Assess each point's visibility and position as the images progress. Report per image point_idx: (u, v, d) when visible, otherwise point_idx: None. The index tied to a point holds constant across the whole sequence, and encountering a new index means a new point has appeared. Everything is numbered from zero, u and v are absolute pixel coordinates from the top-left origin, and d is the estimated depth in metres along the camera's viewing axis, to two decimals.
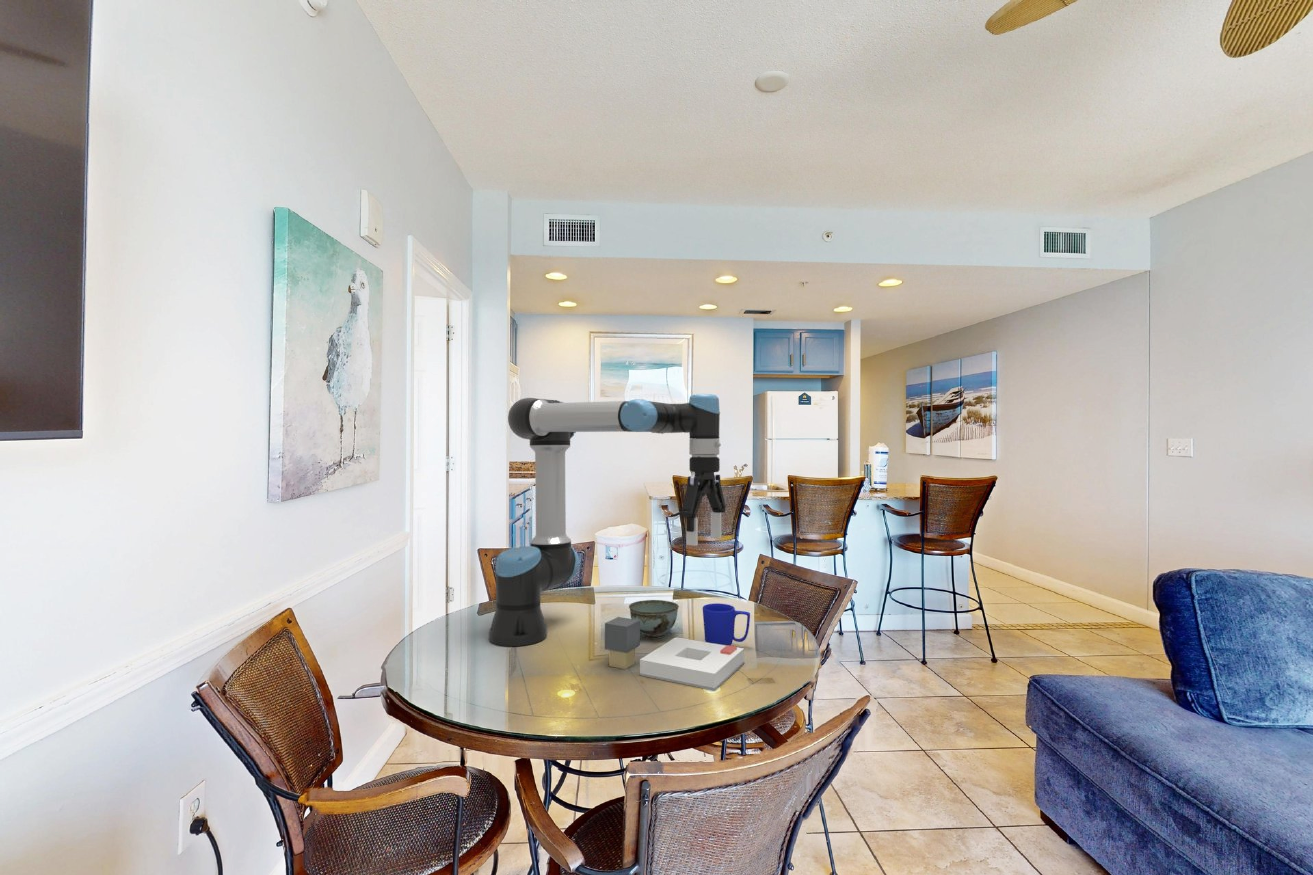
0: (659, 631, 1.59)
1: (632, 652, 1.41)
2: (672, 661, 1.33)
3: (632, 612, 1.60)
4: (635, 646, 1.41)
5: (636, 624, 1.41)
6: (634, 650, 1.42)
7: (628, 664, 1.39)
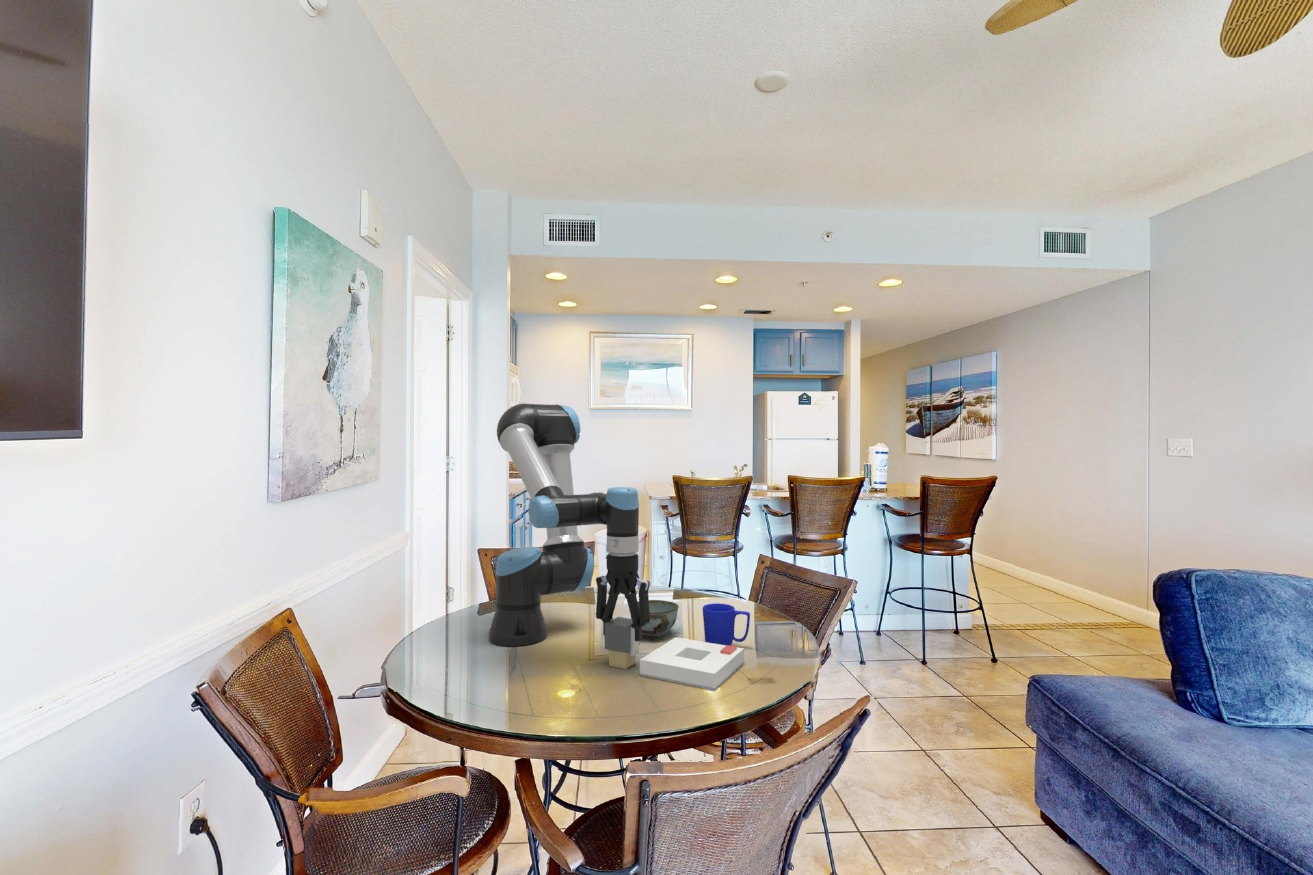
0: (659, 631, 1.59)
1: None
2: (672, 661, 1.33)
3: None
4: None
5: None
6: None
7: (628, 664, 1.39)
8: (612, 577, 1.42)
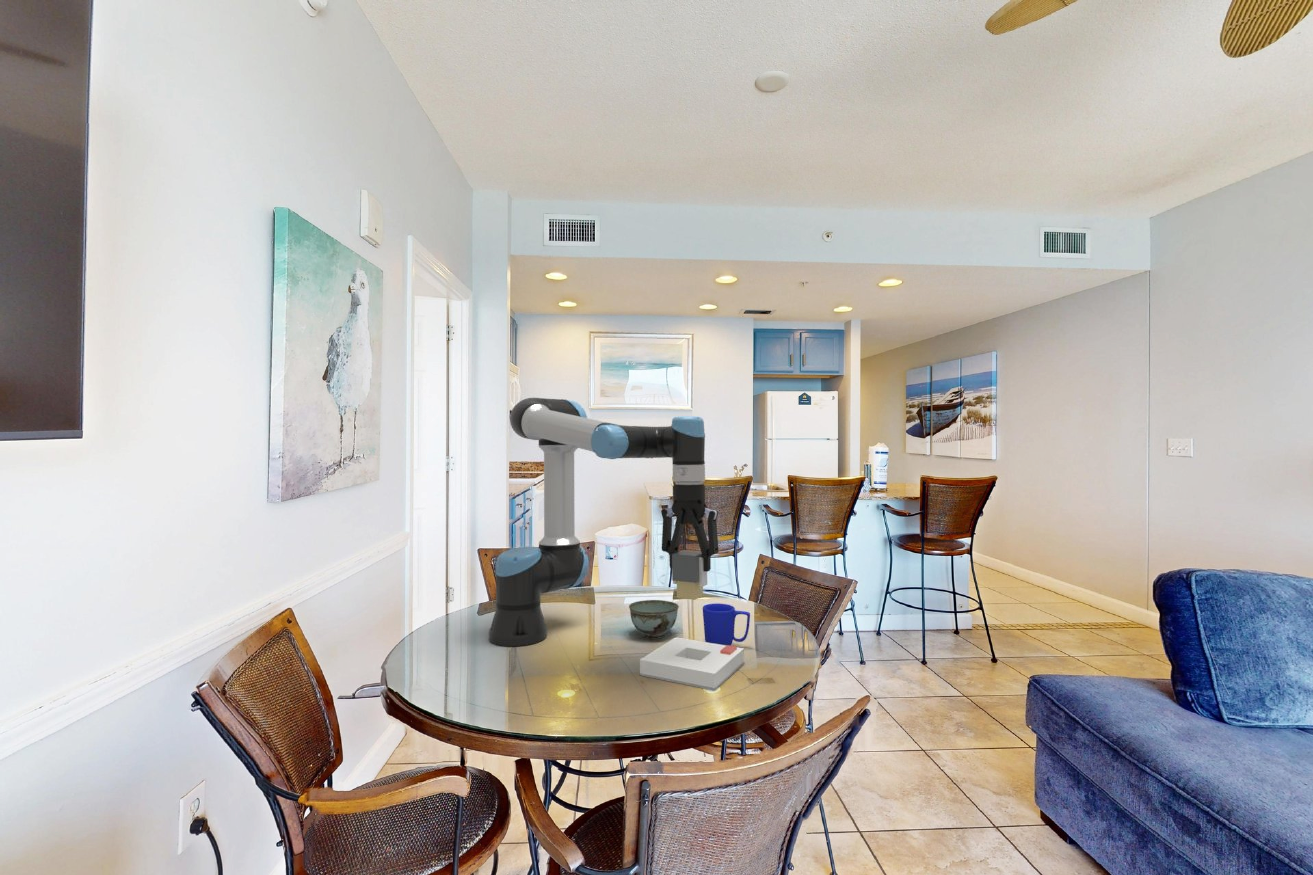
0: (659, 631, 1.59)
1: None
2: (672, 661, 1.33)
3: (632, 612, 1.60)
4: None
5: None
6: None
7: (697, 595, 1.36)
8: (678, 508, 1.39)
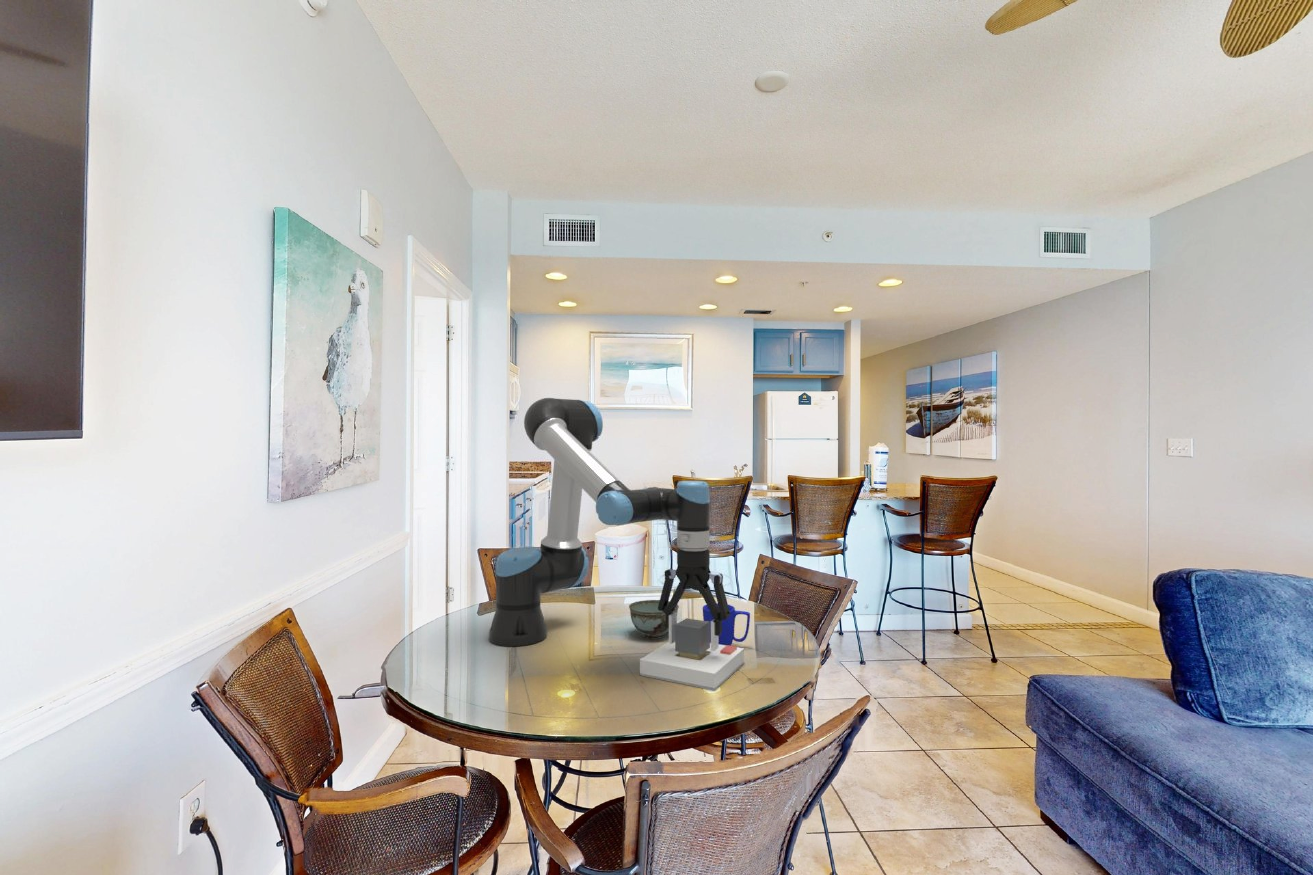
0: (659, 631, 1.59)
1: (703, 654, 1.38)
2: (672, 661, 1.33)
3: (632, 612, 1.60)
4: (706, 648, 1.38)
5: (707, 625, 1.38)
6: (704, 652, 1.39)
7: None
8: (683, 573, 1.39)
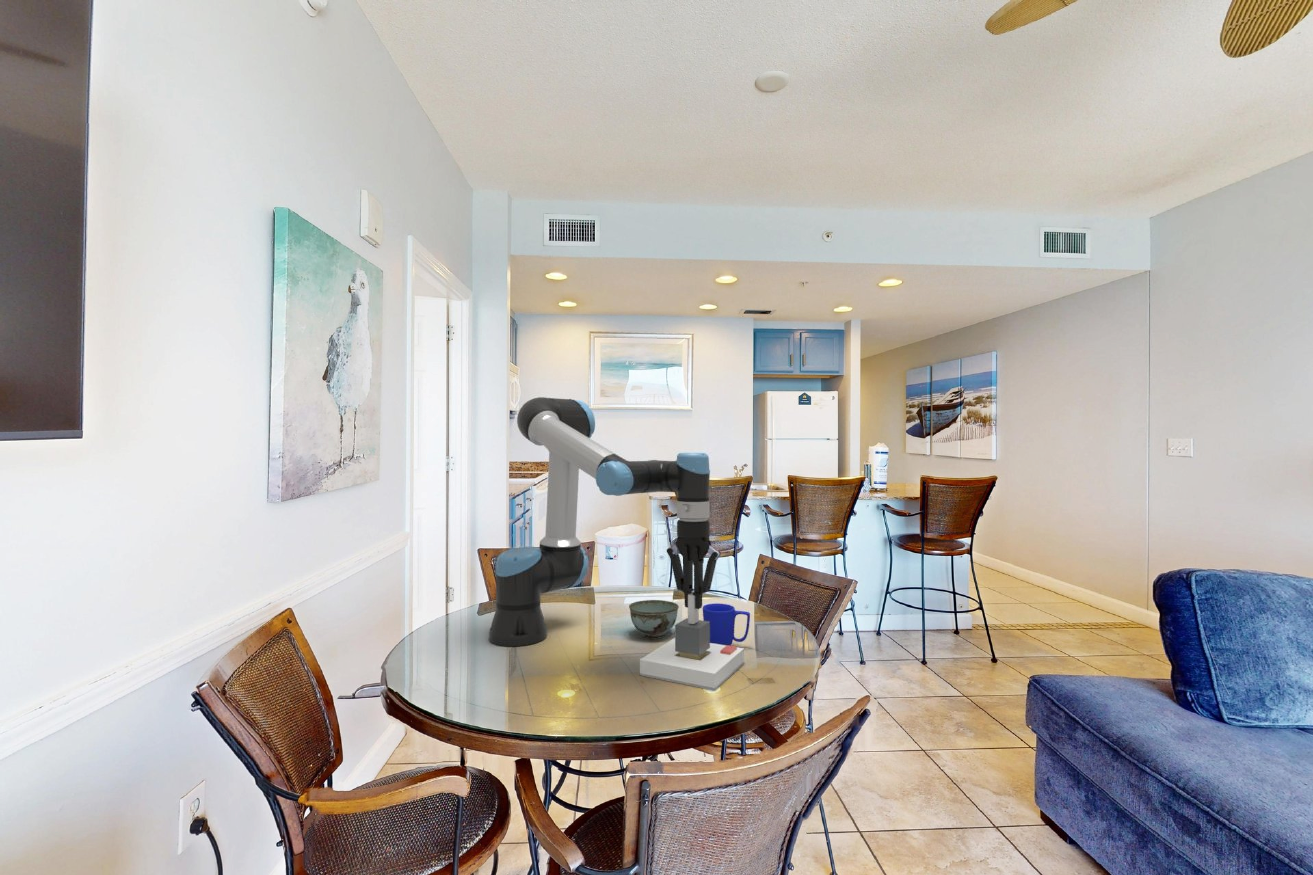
0: (659, 631, 1.59)
1: (703, 654, 1.38)
2: (672, 661, 1.33)
3: (632, 612, 1.60)
4: (706, 648, 1.38)
5: (707, 625, 1.38)
6: (704, 652, 1.39)
7: None
8: (682, 542, 1.39)
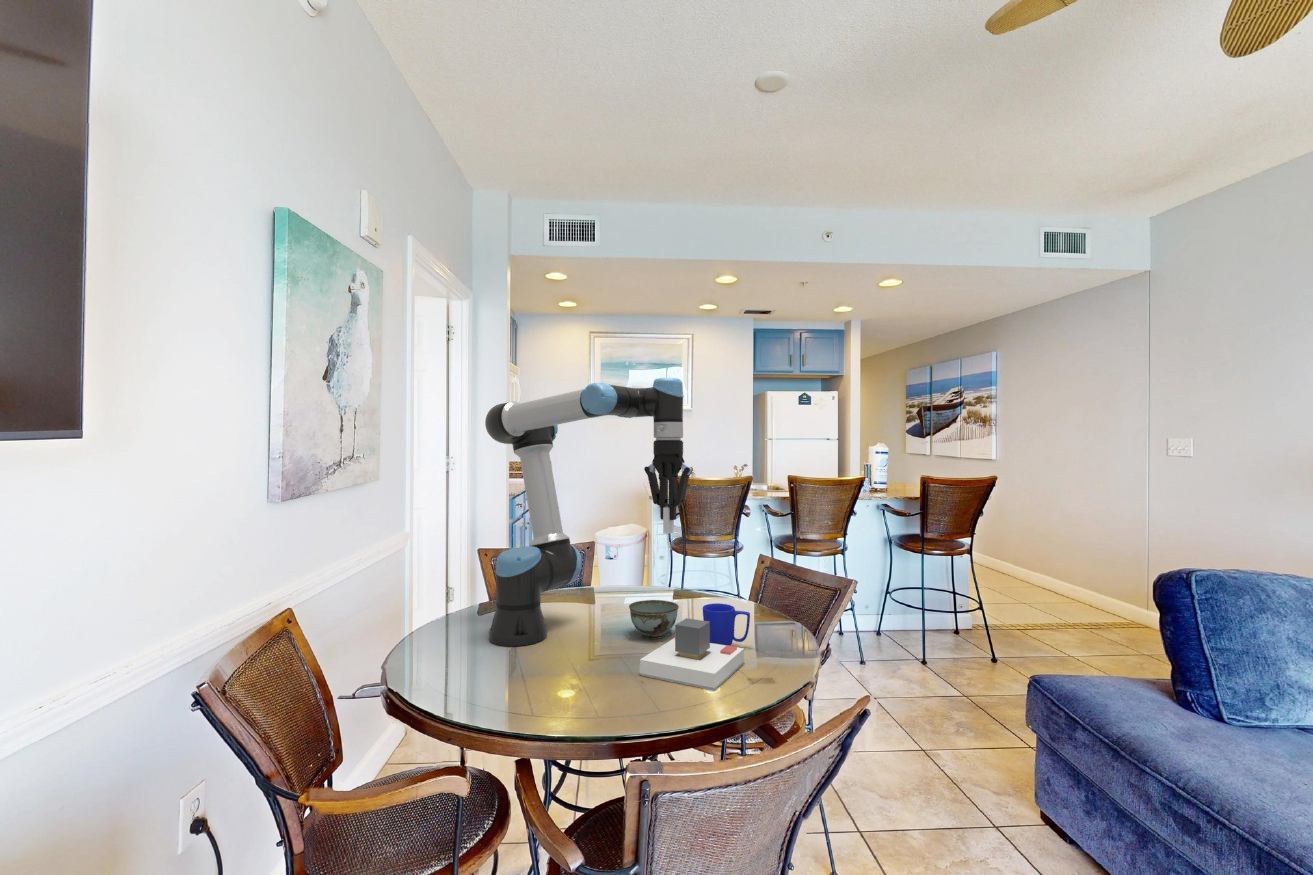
0: (659, 631, 1.59)
1: (703, 654, 1.38)
2: (672, 661, 1.33)
3: (632, 612, 1.60)
4: (706, 648, 1.38)
5: (707, 625, 1.38)
6: (704, 652, 1.39)
7: None
8: (658, 460, 1.52)
